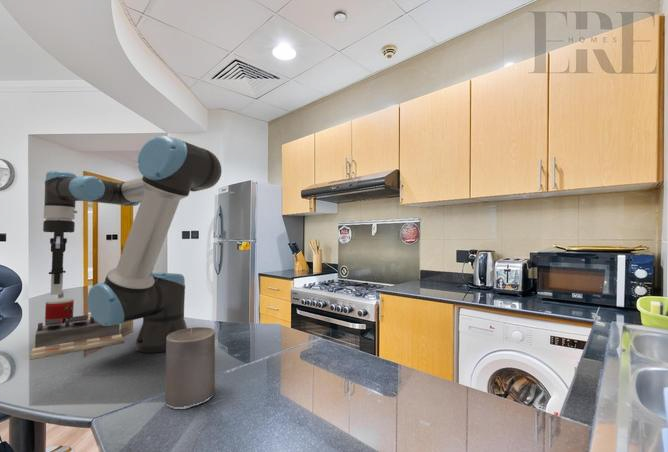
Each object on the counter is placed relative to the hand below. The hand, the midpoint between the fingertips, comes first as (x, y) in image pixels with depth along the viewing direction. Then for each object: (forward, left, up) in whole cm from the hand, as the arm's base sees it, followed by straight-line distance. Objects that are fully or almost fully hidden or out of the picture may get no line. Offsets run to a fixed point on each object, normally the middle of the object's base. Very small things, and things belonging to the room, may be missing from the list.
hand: (56, 294), depth 99 cm
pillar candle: (-53, +38, -17) cm, 68 cm away
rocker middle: (-3, -6, -10) cm, 12 cm away
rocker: (+2, -2, -10) cm, 10 cm away
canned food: (+13, -20, -17) cm, 29 cm away
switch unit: (-5, -3, -17) cm, 18 cm away
